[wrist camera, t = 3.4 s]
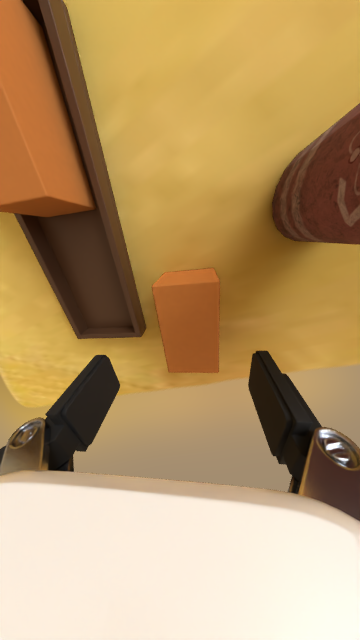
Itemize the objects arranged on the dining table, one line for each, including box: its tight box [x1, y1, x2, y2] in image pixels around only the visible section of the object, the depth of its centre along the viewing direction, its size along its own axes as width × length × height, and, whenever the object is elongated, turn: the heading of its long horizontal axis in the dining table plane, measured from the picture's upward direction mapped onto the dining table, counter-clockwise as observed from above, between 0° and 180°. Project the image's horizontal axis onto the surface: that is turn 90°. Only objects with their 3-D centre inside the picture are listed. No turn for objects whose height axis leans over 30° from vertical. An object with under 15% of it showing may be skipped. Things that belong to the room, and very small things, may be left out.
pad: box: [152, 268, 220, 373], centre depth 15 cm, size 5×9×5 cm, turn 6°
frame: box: [14, 0, 146, 339], centre depth 14 cm, size 8×22×2 cm, turn 6°
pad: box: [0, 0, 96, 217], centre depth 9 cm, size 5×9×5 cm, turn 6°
